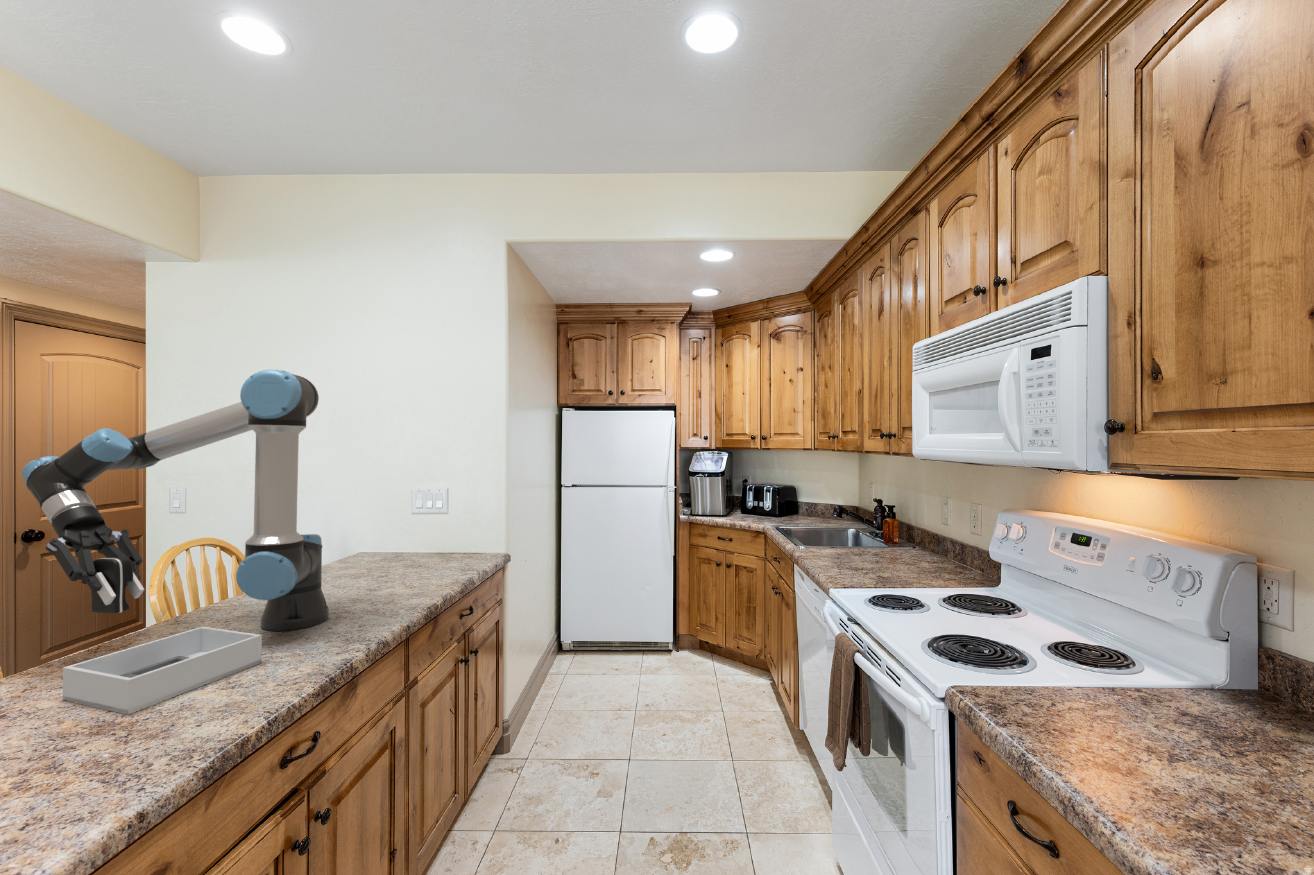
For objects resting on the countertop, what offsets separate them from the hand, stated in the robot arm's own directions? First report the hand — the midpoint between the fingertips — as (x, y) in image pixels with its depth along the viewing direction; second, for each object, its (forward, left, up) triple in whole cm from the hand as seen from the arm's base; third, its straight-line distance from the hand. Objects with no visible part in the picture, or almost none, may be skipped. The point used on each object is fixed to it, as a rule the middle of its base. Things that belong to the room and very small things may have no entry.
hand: (125, 597), depth 118 cm
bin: (+1, +15, -15) cm, 21 cm away
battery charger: (0, -4, -4) cm, 5 cm away
